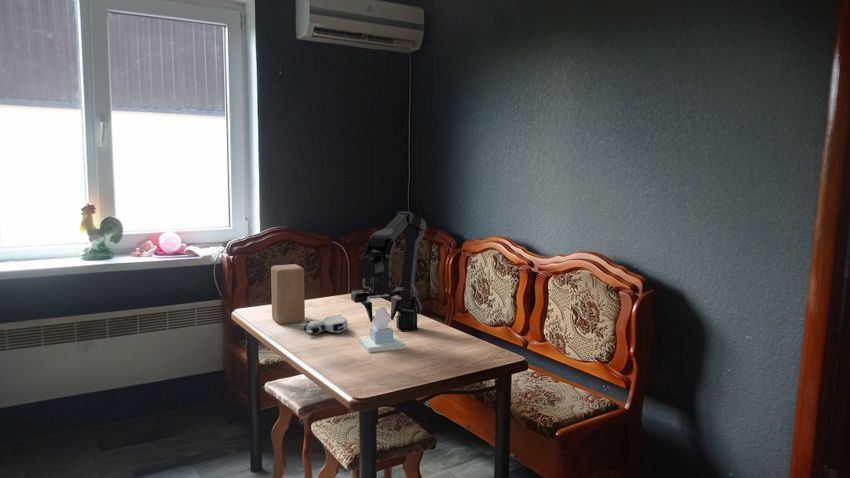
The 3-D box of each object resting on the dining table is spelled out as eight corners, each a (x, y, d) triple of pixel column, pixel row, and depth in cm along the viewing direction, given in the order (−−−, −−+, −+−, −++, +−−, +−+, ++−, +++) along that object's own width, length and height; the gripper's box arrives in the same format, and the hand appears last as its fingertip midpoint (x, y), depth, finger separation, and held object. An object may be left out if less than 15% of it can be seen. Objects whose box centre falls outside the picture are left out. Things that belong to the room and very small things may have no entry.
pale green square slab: (393, 337, 210) (393, 333, 210) (404, 348, 199) (405, 344, 199) (358, 341, 206) (358, 336, 206) (368, 352, 195) (368, 347, 195)
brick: (387, 336, 206) (387, 325, 206) (393, 342, 201) (393, 330, 200) (370, 338, 204) (370, 326, 203) (375, 344, 198) (375, 331, 198)
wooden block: (278, 325, 224) (277, 270, 221) (271, 318, 232) (270, 265, 230) (305, 322, 228) (304, 268, 226) (297, 315, 237) (297, 263, 234)
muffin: (390, 324, 205) (389, 304, 204) (391, 330, 199) (391, 309, 198) (371, 325, 204) (370, 305, 203) (372, 331, 198) (371, 310, 197)
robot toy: (308, 341, 208) (351, 334, 214) (306, 328, 208) (350, 321, 213) (301, 331, 220) (343, 324, 225) (300, 319, 219) (342, 312, 224)
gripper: (401, 267, 210) (401, 312, 212) (346, 270, 203) (347, 316, 206) (412, 273, 200) (412, 320, 202) (355, 276, 193) (355, 325, 195)
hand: (381, 320), depth 201 cm, fingers open, 7 cm apart
